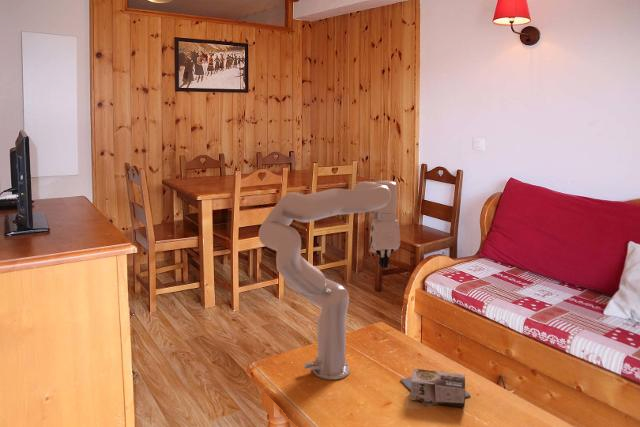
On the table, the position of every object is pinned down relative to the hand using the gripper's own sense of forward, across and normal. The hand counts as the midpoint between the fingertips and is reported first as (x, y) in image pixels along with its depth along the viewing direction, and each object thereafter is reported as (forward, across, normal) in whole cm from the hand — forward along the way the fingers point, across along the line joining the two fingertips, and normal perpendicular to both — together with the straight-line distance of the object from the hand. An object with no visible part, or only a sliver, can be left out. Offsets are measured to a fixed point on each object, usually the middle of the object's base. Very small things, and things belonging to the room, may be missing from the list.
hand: (383, 266), depth 187 cm
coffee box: (+29, -4, -28) cm, 41 cm away
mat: (+33, +5, -28) cm, 44 cm away
